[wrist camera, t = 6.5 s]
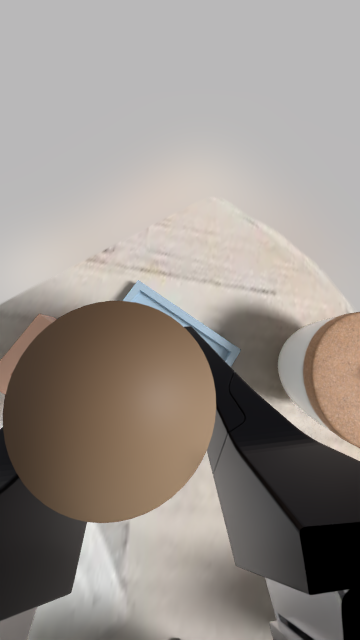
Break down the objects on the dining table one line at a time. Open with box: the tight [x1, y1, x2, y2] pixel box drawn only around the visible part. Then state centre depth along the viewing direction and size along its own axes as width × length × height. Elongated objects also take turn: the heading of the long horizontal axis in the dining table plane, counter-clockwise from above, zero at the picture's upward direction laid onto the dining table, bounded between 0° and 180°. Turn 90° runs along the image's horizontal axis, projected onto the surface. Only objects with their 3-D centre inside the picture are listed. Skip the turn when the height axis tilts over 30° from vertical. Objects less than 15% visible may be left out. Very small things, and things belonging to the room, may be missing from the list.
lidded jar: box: [278, 312, 360, 448], centre depth 16 cm, size 11×11×9 cm
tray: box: [123, 280, 241, 367], centre depth 20 cm, size 14×10×2 cm
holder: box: [0, 314, 57, 395], centre depth 19 cm, size 8×8×2 cm
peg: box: [3, 301, 216, 523], centre depth 9 cm, size 3×3×12 cm
